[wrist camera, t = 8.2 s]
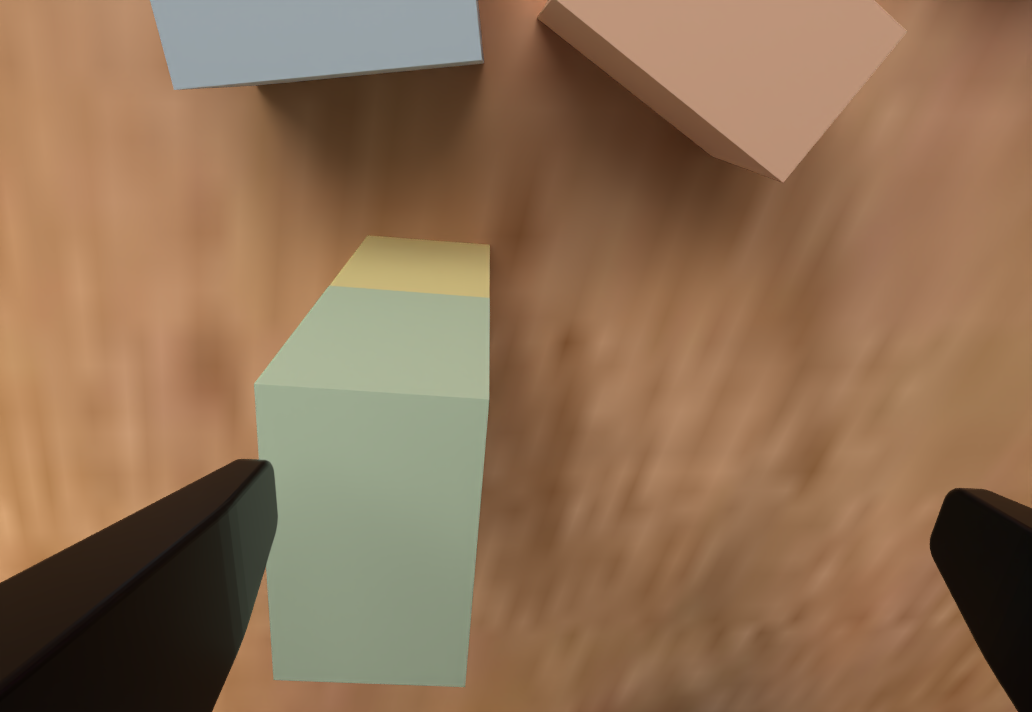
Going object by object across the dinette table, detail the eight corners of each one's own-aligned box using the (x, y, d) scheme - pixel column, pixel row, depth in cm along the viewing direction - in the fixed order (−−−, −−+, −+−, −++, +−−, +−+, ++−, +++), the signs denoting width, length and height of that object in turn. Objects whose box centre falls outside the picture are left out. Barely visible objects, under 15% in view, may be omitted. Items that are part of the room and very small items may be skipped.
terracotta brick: (798, 42, 18) (907, 31, 13) (711, 155, 19) (783, 182, 14) (620, -115, 16) (672, -190, 12) (536, 18, 17) (553, -3, 13)
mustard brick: (476, 426, 22) (472, 522, 17) (367, 420, 21) (334, 515, 17) (490, 244, 19) (489, 298, 15) (367, 235, 19) (328, 286, 15)
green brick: (472, 521, 17) (465, 686, 12) (332, 514, 17) (273, 680, 12) (489, 298, 15) (489, 399, 10) (329, 285, 15) (254, 384, 10)
